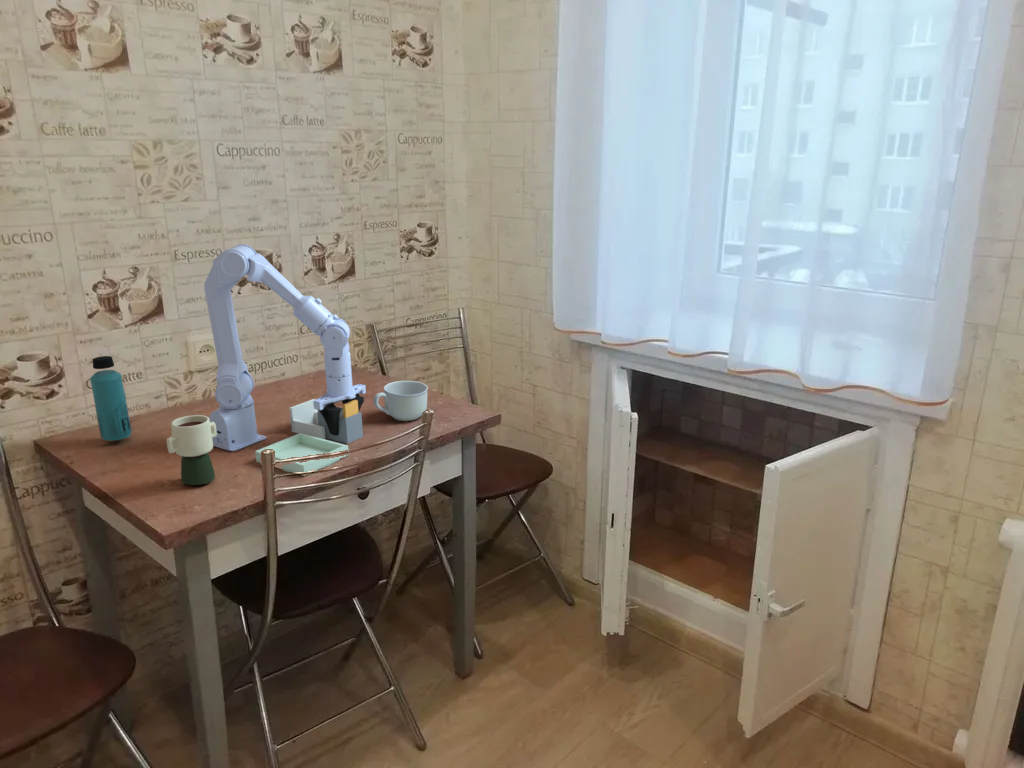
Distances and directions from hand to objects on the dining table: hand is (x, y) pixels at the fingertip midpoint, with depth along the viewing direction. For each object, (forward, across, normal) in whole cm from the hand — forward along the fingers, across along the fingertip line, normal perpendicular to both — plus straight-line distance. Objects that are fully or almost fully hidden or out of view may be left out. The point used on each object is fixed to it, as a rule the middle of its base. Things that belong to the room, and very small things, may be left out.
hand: (343, 430), depth 169 cm
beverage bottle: (+2, -29, +42) cm, 51 cm away
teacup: (+2, +17, -3) cm, 17 cm away
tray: (+2, -14, -2) cm, 14 cm away
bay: (+2, 0, +7) cm, 7 cm away
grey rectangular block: (+2, 0, +1) cm, 2 cm away
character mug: (+2, -33, +7) cm, 34 cm away
